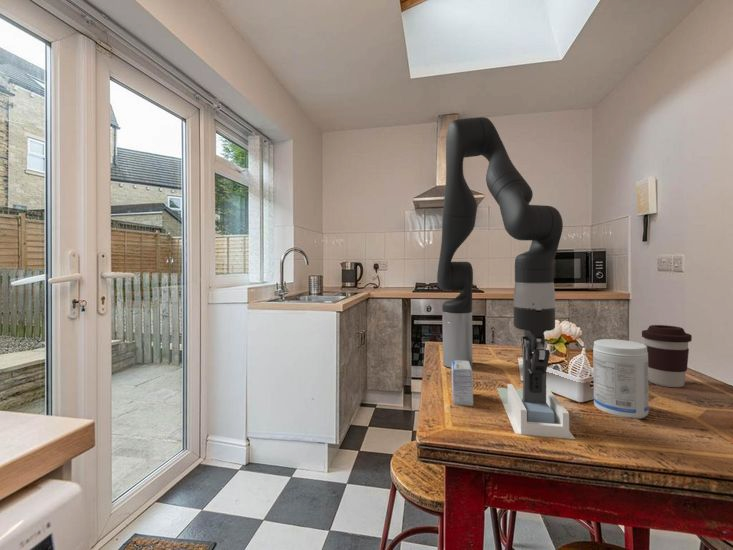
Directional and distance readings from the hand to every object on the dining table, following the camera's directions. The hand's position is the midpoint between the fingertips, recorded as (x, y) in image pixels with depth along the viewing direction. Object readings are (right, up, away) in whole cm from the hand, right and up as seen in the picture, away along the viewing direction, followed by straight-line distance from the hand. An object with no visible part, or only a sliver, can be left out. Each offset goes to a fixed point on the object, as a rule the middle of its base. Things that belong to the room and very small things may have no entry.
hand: (534, 390), depth 70 cm
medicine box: (-11, -7, +12) cm, 17 cm away
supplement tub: (+21, -6, +5) cm, 22 cm away
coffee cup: (+45, -6, +21) cm, 50 cm away
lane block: (0, -6, -2) cm, 6 cm away
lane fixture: (+1, -6, +5) cm, 8 cm away
